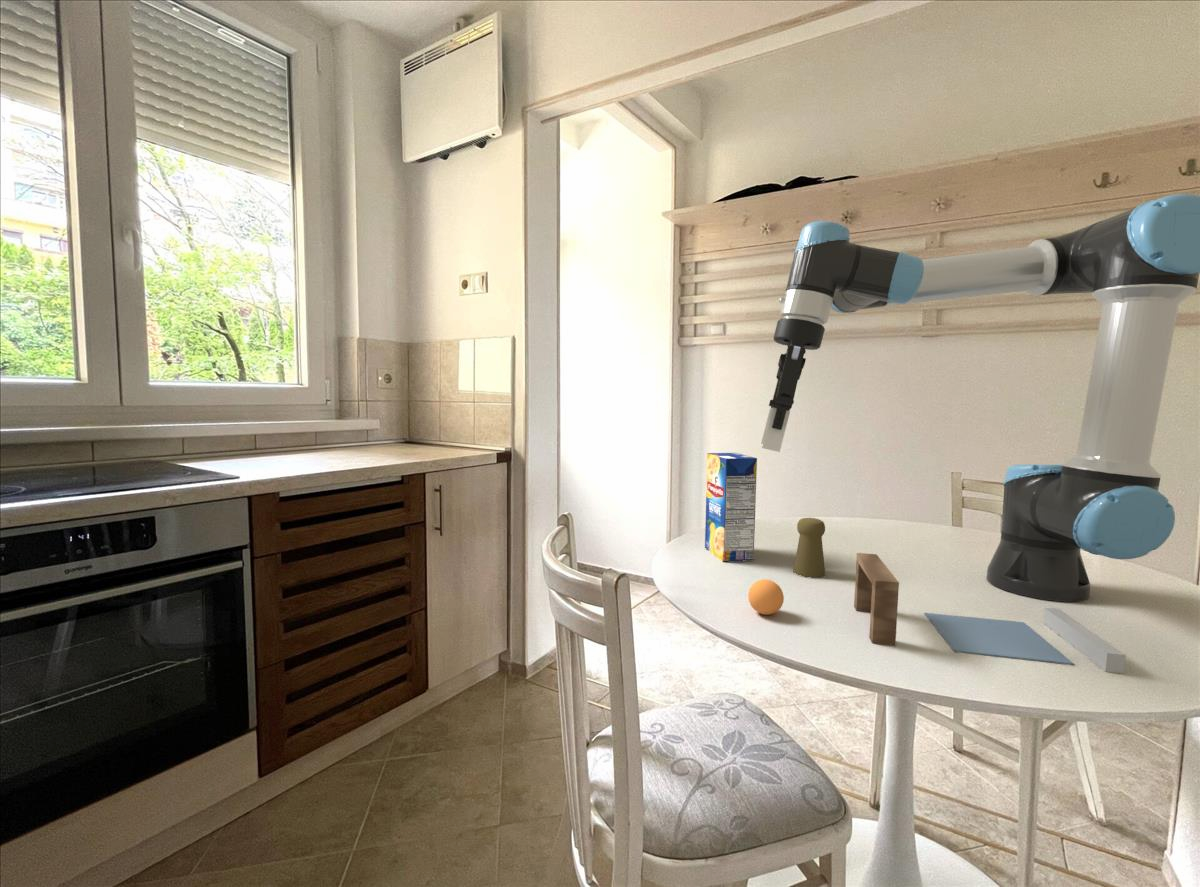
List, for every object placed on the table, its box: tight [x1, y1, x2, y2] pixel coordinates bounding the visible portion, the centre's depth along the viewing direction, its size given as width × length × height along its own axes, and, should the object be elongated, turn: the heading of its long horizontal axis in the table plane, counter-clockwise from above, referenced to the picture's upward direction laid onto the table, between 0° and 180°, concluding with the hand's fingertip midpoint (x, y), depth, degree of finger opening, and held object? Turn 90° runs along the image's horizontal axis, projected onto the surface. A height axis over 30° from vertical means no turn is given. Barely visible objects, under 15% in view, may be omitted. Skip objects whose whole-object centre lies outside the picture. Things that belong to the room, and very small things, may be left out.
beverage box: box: [704, 452, 758, 562], centre depth 124 cm, size 7×11×22 cm, turn 10°
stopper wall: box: [1042, 607, 1127, 674], centre depth 80 cm, size 2×16×2 cm, turn 165°
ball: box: [747, 578, 785, 616], centre depth 91 cm, size 6×6×6 cm
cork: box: [792, 517, 826, 579], centre depth 111 cm, size 6×6×11 cm
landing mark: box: [923, 612, 1075, 666], centre depth 83 cm, size 14×14×1 cm
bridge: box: [853, 552, 900, 647], centre depth 87 cm, size 3×14×9 cm, turn 165°
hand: (769, 447), depth 94 cm, fingers open, 13 cm apart
